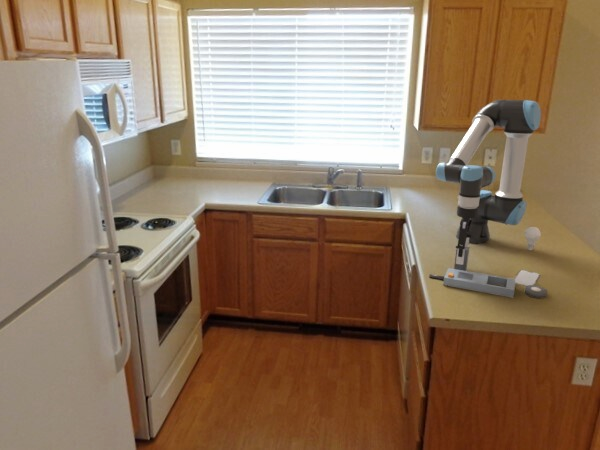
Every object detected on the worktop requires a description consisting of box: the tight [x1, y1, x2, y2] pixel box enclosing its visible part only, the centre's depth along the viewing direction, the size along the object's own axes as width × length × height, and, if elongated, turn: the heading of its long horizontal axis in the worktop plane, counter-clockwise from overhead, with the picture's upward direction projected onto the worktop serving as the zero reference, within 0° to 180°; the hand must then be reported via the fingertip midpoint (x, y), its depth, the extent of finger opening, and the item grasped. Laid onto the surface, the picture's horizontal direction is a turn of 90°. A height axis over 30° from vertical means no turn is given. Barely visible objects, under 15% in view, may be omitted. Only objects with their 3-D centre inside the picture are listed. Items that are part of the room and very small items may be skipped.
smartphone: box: [513, 269, 541, 287], centre depth 179 cm, size 7×1×15 cm
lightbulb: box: [524, 226, 542, 251], centre depth 206 cm, size 6×6×11 cm
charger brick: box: [453, 246, 470, 271], centre depth 184 cm, size 4×5×10 cm
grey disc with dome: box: [524, 285, 548, 299], centre depth 166 cm, size 7×7×2 cm
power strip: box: [429, 267, 516, 299], centre depth 173 cm, size 10×30×4 cm, turn 64°
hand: (461, 258), depth 183 cm, fingers open, 13 cm apart
